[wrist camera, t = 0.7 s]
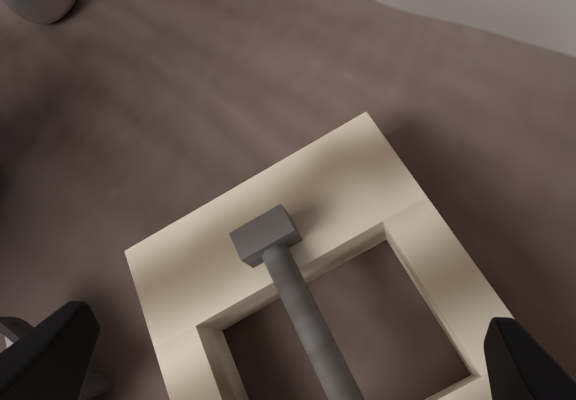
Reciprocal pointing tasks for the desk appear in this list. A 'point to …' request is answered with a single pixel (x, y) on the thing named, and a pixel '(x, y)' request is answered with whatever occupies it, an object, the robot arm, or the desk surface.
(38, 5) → the plastic bottle
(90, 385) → the clip-on lamp
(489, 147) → the desk surface
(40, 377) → the robot arm
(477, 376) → the beige square frame
